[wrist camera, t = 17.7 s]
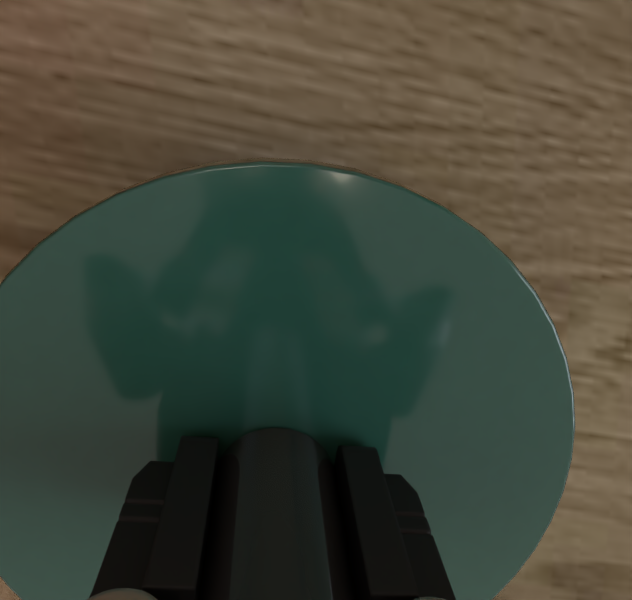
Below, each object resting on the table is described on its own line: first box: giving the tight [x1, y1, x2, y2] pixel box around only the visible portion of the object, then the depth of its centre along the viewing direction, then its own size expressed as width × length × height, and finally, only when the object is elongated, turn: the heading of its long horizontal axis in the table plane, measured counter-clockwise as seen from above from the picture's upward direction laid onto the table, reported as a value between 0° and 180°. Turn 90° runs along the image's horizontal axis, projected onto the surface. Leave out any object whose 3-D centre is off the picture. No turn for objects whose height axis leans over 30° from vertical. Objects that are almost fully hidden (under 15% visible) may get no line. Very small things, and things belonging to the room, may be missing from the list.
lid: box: [0, 158, 575, 600], centre depth 9 cm, size 12×12×6 cm
